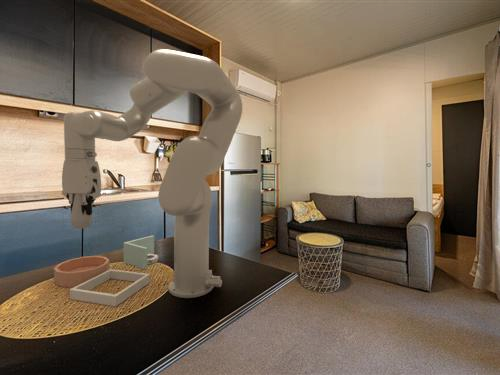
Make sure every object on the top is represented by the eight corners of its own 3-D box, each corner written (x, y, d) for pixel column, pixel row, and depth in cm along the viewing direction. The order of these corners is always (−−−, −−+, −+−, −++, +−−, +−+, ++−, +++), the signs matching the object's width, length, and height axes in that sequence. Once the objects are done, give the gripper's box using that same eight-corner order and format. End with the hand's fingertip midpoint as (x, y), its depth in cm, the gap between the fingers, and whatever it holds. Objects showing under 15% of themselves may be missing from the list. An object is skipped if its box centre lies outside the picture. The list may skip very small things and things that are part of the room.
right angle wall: (145, 270, 83) (144, 248, 82) (123, 263, 89) (123, 242, 89) (173, 260, 93) (173, 240, 93) (152, 254, 99) (152, 235, 99)
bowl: (118, 270, 82) (118, 258, 81) (82, 289, 69) (82, 275, 68) (84, 265, 85) (83, 254, 84) (43, 283, 71) (42, 269, 71)
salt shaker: (81, 229, 72) (80, 185, 71) (64, 228, 73) (63, 184, 72) (97, 225, 78) (96, 184, 77) (82, 224, 79) (81, 183, 78)
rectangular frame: (149, 282, 74) (149, 274, 73) (115, 306, 60) (115, 296, 60) (110, 277, 77) (110, 269, 76) (69, 299, 63) (69, 289, 63)
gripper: (113, 157, 76) (114, 216, 77) (69, 156, 80) (70, 213, 81) (93, 155, 69) (94, 221, 70) (45, 154, 72) (47, 217, 73)
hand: (81, 216), depth 75 cm, fingers closed on salt shaker, 3 cm apart
